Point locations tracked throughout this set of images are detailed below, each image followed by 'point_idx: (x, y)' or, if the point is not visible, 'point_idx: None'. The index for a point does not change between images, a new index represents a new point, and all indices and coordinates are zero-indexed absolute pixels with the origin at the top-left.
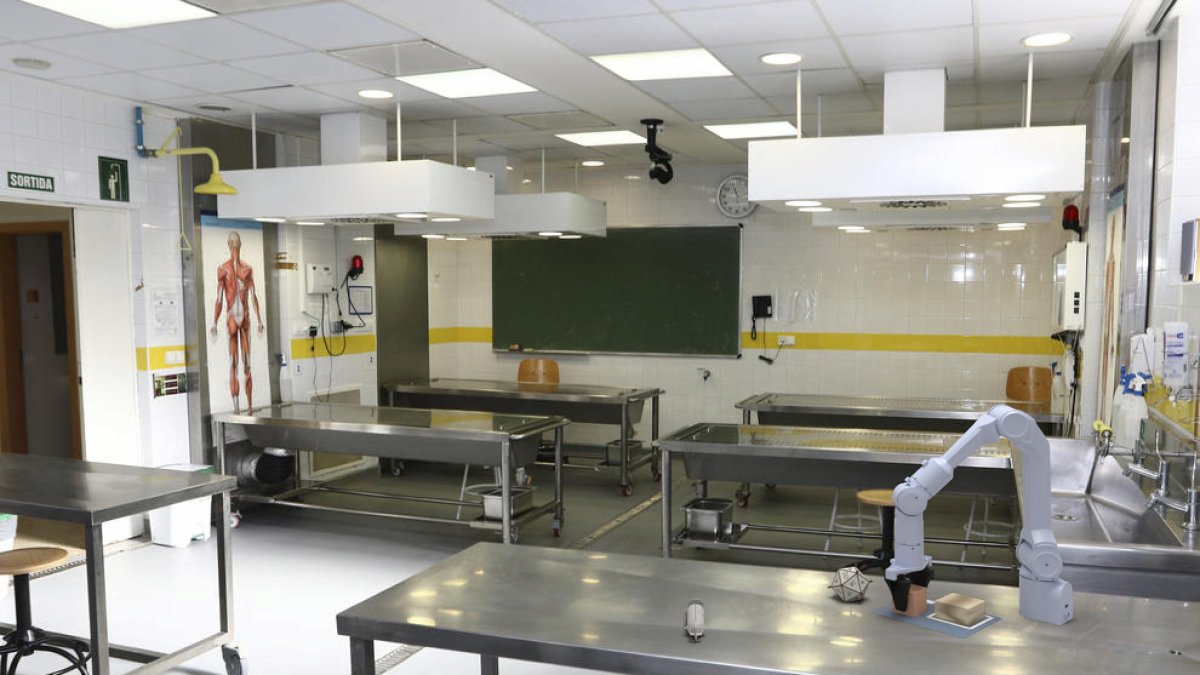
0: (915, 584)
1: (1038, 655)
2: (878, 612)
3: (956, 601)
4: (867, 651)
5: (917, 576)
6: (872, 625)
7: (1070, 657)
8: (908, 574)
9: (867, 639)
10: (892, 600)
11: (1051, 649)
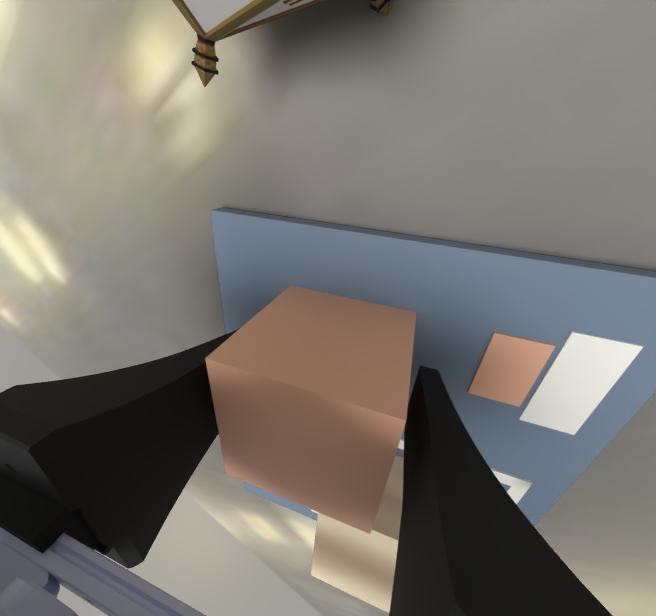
0: (418, 480)
1: (297, 568)
2: (228, 239)
3: (366, 567)
4: (45, 319)
5: (411, 584)
6: (154, 258)
7: (326, 600)
8: (435, 532)
9: (78, 292)
10: (262, 312)
11: (343, 592)
